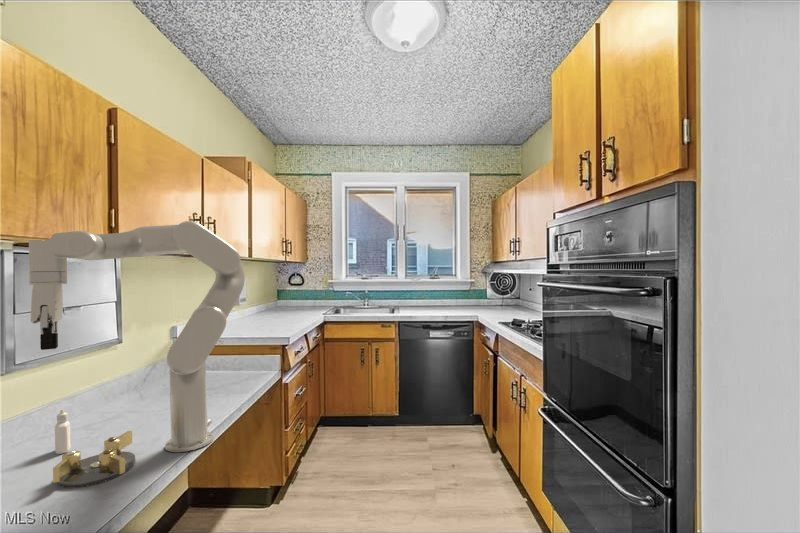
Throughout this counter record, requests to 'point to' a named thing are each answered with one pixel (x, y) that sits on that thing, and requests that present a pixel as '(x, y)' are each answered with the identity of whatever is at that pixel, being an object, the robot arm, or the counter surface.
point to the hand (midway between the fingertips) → (49, 348)
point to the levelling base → (94, 471)
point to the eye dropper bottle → (62, 433)
